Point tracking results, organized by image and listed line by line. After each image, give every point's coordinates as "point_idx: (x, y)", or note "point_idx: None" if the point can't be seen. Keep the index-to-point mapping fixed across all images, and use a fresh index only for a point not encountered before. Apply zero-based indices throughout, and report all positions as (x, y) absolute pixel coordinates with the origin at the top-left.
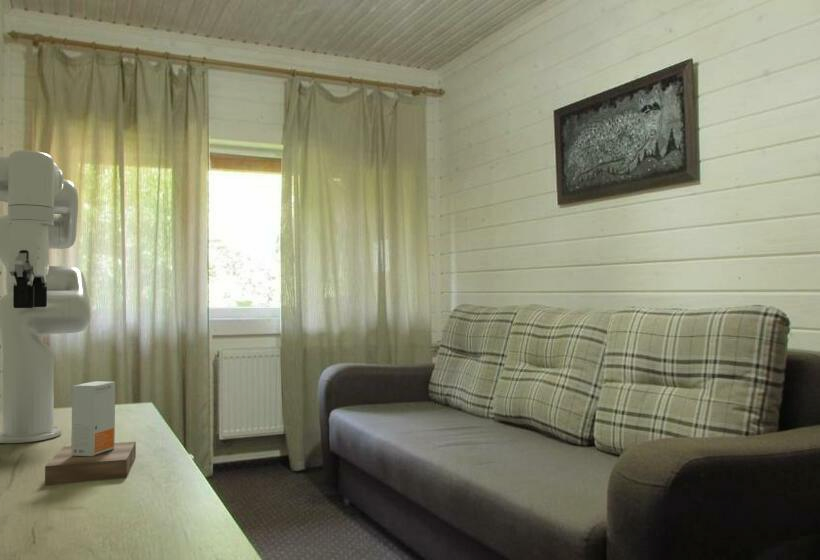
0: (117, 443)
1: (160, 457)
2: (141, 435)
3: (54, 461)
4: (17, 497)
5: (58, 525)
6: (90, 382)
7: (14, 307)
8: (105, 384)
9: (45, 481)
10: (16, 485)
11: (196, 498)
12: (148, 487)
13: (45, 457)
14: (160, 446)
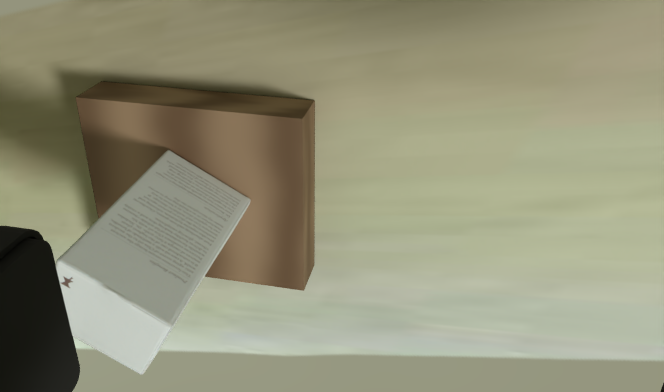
0: (292, 250)
1: (295, 311)
2: (631, 295)
3: (120, 113)
4: (16, 36)
5: None
6: (130, 312)
7: (3, 230)
8: (93, 347)
9: (97, 85)
10: (114, 13)
11: None
12: None
13: (426, 36)
14: (426, 324)
